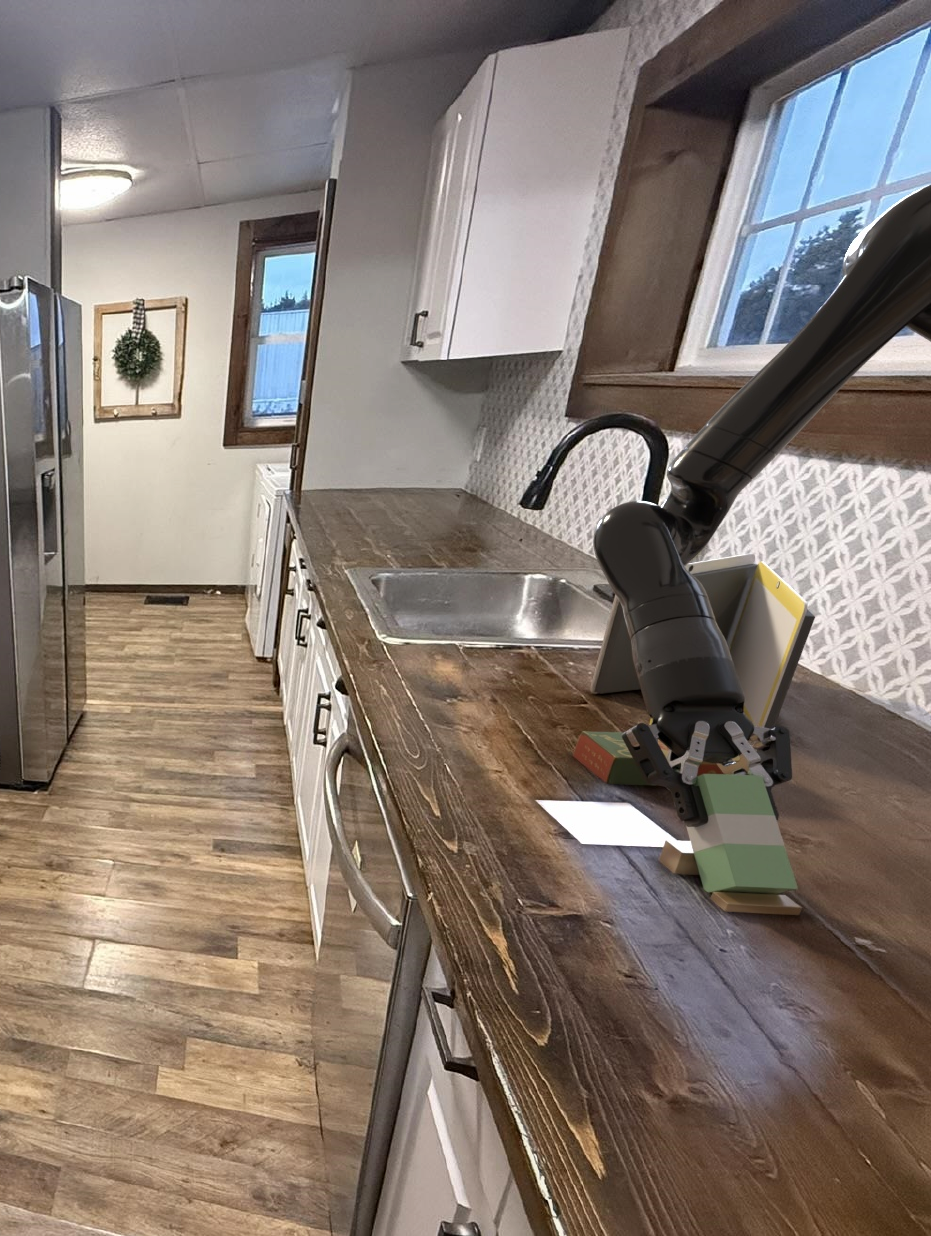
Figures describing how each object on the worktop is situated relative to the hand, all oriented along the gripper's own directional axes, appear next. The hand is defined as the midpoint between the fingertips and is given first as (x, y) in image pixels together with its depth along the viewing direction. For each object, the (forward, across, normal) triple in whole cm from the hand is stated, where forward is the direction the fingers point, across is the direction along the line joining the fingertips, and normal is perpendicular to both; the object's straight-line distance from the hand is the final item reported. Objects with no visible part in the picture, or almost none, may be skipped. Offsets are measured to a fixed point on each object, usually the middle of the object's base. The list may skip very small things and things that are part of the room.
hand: (730, 825), depth 75 cm
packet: (+1, 0, 0) cm, 1 cm away
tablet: (-34, +28, +42) cm, 61 cm away
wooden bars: (+6, 0, +3) cm, 6 cm away
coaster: (-3, -4, +11) cm, 12 cm away
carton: (-12, +9, +21) cm, 26 cm away
